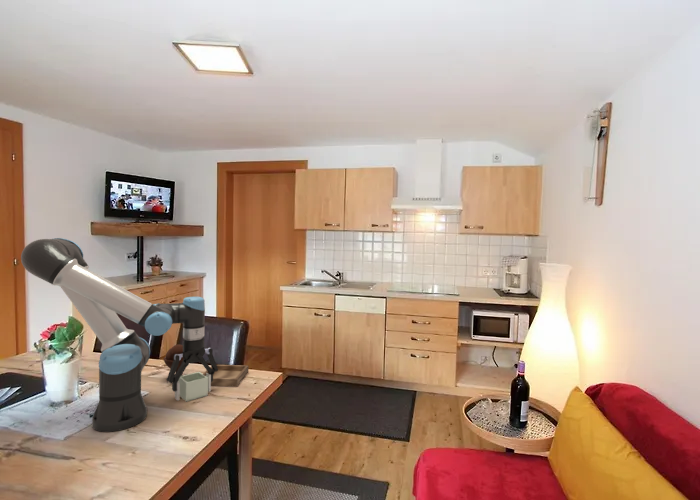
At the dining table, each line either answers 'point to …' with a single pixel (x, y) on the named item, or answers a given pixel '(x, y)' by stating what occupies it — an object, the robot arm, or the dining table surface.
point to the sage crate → (193, 386)
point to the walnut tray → (228, 375)
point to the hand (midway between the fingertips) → (193, 394)
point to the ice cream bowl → (170, 356)
